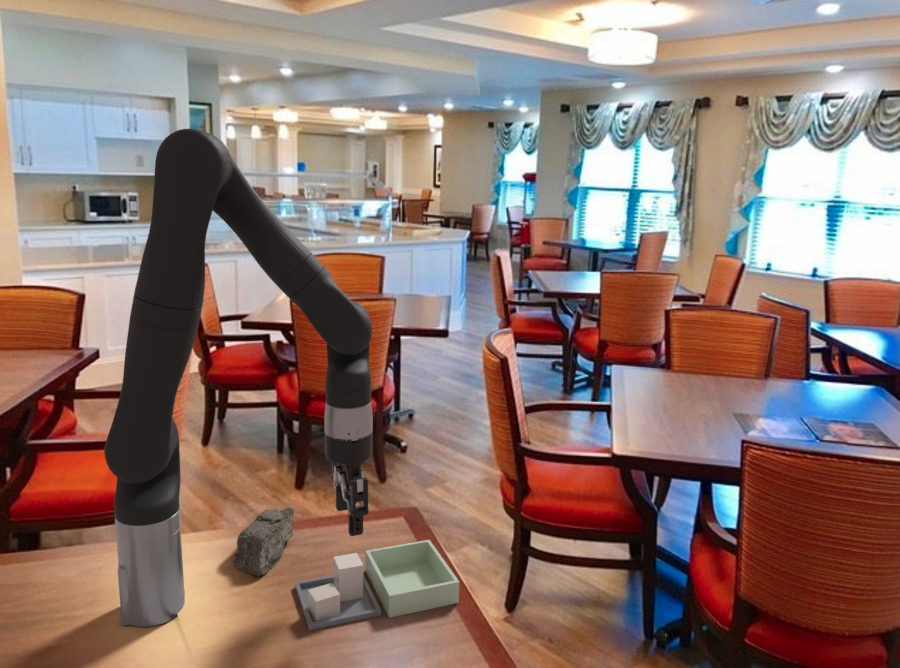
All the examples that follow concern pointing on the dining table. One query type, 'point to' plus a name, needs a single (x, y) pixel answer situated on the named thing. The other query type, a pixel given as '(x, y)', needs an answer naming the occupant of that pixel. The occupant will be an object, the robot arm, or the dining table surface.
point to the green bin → (411, 578)
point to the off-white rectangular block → (348, 576)
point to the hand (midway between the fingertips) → (349, 521)
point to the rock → (264, 541)
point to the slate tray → (348, 609)
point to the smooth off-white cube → (324, 602)
